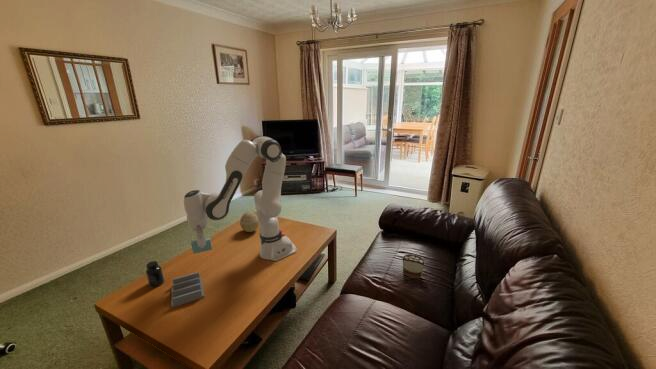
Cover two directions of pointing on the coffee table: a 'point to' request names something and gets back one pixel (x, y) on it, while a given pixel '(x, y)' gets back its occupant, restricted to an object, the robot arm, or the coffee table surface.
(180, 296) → the rack
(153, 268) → the supplement bottle
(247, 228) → the fossilized egg
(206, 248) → the teal upright panel
